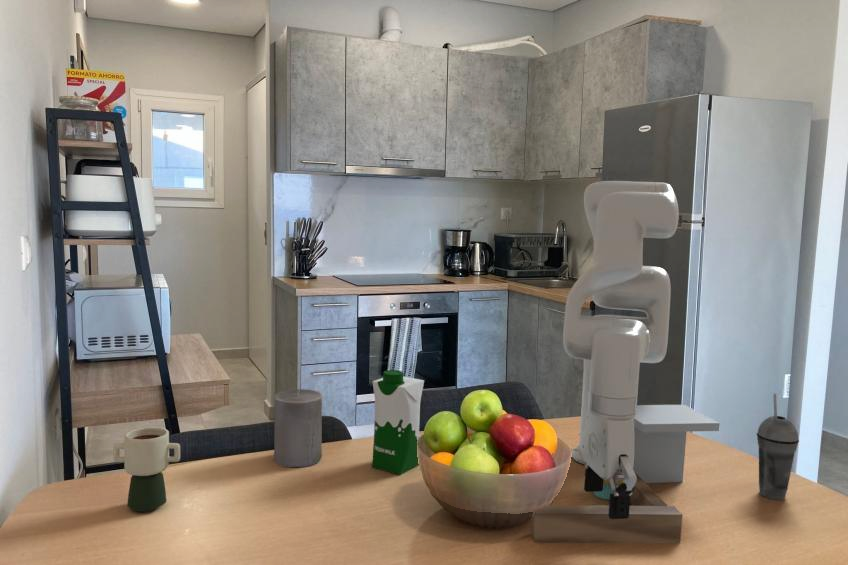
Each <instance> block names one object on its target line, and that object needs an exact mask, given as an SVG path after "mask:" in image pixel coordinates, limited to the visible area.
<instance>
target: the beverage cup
mask: <svg viewBox="0 0 848 565" xmlns="http://www.w3.org/2000/svg"><path fill="white" fill-rule="evenodd" d="M777 403H778V402H777V393H773V415H772V416H769V417H767V418H765V419H764V420H763V421H762V422H761V423H760V424H759V427H758V429H757V432H756V436H757V437H756V438H757V446H758V488H759V491H758V492H759V493H758V494H760V495H761V496H762V497H763V498H767V499H769V500H774V501H782V500H785V499H786V495H787V491H788V487H789V485H790V484H789V483H790V477H791V473H792V466H793V464H794V463H793V462H794V456H795V452H796V450H797V448H798V443H800V440H799V432H798V429H797V427H796V425H795V424H794V423H793V422H792V421H791V420H789V418H787V417H784V416H780V415H778V408H777V406H778V405H777Z"/></svg>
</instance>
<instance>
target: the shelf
mask: <svg viewBox="0 0 848 565" xmlns="http://www.w3.org/2000/svg"><path fill="white" fill-rule="evenodd" d="M633 418H634V465H633V470H634V472H635V473H636V474H637V475H638V476H639V477H640V478H641V479H642V480H643V481H644V482H645V483H646V484H659V483H661V484H664V483H683V482H684V481H683V480H684V469H685V456H686V444H687V443H686V442H687V433H688V432H689V433H690V432H719V431H720V422H718V421H717V420H715V419H712V418H710V417H708V416H706V415H705V414H703V413H701V412H700V411H697V410H695V409H694V408H692V407H690V406H688V405H686V404H637V409H636V416H635V417H633Z"/></svg>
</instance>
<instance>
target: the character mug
mask: <svg viewBox="0 0 848 565" xmlns="http://www.w3.org/2000/svg"><path fill="white" fill-rule="evenodd" d="M122 449H123V451H124V454H123V456H120V450H122ZM172 449H173V453H174V455H173V456H170V450H172ZM112 452H113V453H112V454H113V462H115V463H124V464H123V465H124V470H125V472H126V474H128V475H131V477H130V482H129V490H128V497H127V505H126V506H127V507H128V508H129V509H130V510H132V511H136V512H148V511H151V510H155V509H157V508H160V507H161V506H163V505H165V504H166V503H167V491H166V483H165V477H164V474H163V472H164V471H165V470H167V468H168V466H169V464H170V463H177V462H179V461H180V460H181V444H180V443H177V442H170V431H169V430H168V429H166V428H164V427H158V426H147V427H141V428H135V429H131V430H129V431H127V432H126V433H124V441H123V442H121V443H120V442H119V443H114V444H113V451H112Z"/></svg>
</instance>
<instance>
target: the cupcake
mask: <svg viewBox="0 0 848 565" xmlns="http://www.w3.org/2000/svg"><path fill="white" fill-rule="evenodd" d="M585 469H587V468H586V467H585V466H584V471H583V472H585ZM614 475H622V474H620V473H615V474H614ZM616 482H617V486H618V487H619V486H620V485H621V484H622V483H624V482H623V480H616ZM593 493H594V495H595V496H596V497H597V498H600V499H603V500H606V501H607V500H610V494H613V492H612V488H611V484H610V479H609V478H608V479H607V480H604V481H603V490H602V491H599V492H593Z"/></svg>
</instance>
